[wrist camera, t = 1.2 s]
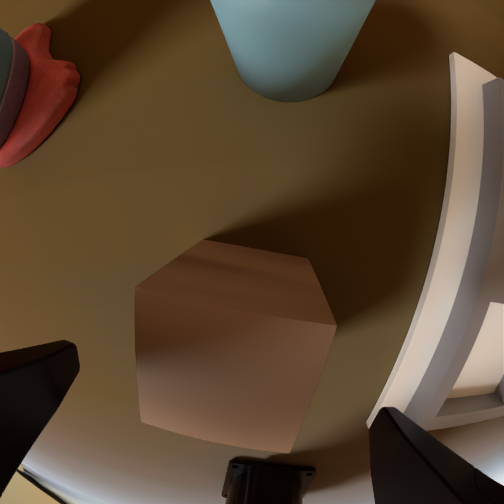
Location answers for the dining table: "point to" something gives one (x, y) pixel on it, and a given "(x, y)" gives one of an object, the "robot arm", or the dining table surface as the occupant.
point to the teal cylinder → (290, 42)
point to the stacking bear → (31, 91)
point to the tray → (461, 274)
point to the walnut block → (231, 345)
